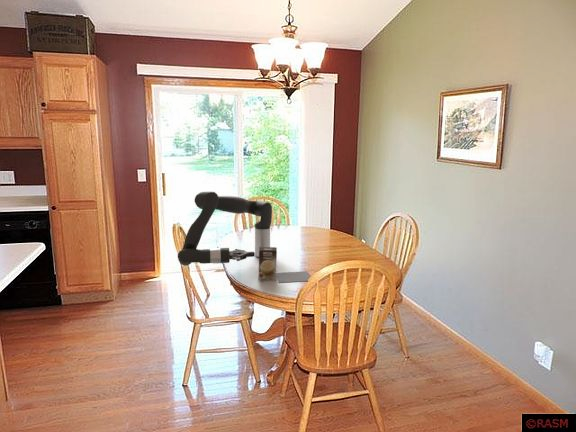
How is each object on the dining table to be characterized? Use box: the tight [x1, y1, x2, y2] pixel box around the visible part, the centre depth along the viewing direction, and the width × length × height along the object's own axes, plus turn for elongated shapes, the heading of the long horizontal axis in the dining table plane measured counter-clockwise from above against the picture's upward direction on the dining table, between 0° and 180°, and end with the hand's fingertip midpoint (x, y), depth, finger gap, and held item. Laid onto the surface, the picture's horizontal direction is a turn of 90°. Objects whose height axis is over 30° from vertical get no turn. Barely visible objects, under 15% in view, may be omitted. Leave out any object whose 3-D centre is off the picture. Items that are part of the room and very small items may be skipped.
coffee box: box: [258, 246, 278, 282], centre depth 210 cm, size 9×6×16 cm
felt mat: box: [276, 270, 312, 284], centre depth 214 cm, size 14×18×1 cm
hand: (254, 254), depth 207 cm, fingers closed
